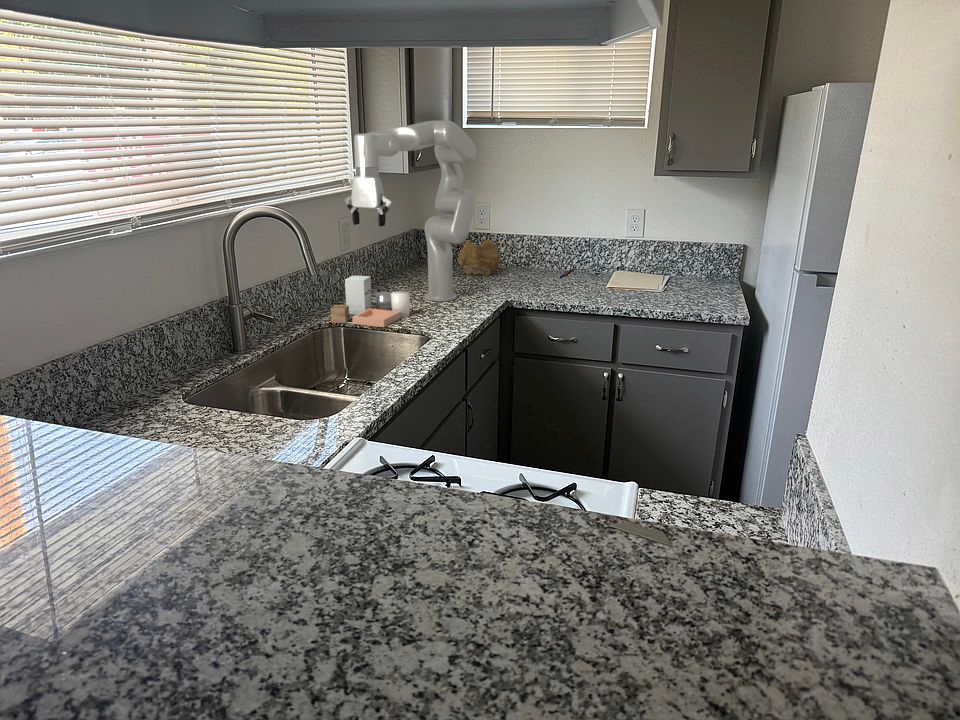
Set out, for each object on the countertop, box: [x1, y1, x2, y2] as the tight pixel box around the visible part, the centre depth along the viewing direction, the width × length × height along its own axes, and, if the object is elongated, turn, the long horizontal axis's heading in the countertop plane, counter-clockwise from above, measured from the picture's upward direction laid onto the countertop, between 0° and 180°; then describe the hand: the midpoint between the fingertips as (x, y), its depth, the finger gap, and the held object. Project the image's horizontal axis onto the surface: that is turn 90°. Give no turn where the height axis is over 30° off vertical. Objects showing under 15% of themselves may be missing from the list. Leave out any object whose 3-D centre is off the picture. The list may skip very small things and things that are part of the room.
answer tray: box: [351, 308, 401, 328], centre depth 240 cm, size 12×12×2 cm
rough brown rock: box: [457, 239, 501, 277], centre depth 316 cm, size 23×17×15 cm
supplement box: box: [344, 275, 373, 315], centre depth 250 cm, size 7×7×13 cm
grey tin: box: [375, 291, 392, 311], centre depth 254 cm, size 6×6×6 cm
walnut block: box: [330, 304, 351, 324], centre depth 240 cm, size 5×5×5 cm
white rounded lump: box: [390, 290, 411, 318], centre depth 247 cm, size 6×6×8 cm
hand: (369, 225), depth 235 cm, fingers open, 9 cm apart
